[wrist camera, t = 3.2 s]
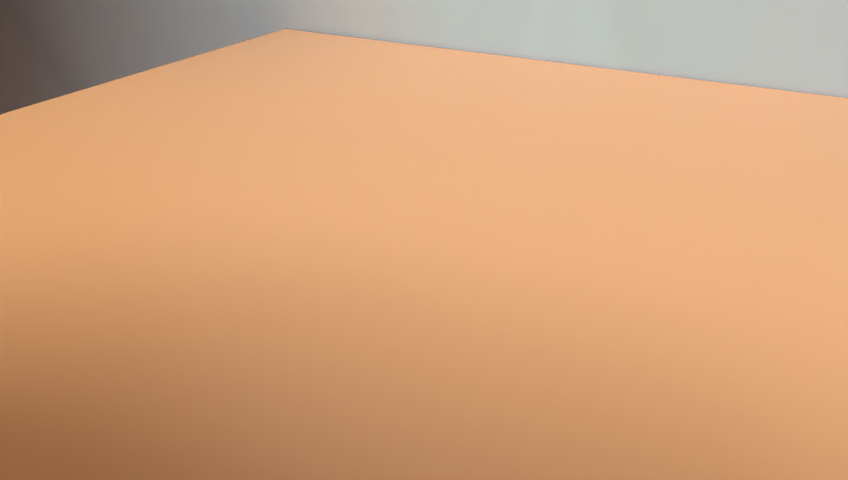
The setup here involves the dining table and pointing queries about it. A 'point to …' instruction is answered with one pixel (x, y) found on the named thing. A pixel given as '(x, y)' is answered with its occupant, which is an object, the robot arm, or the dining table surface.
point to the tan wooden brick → (422, 272)
